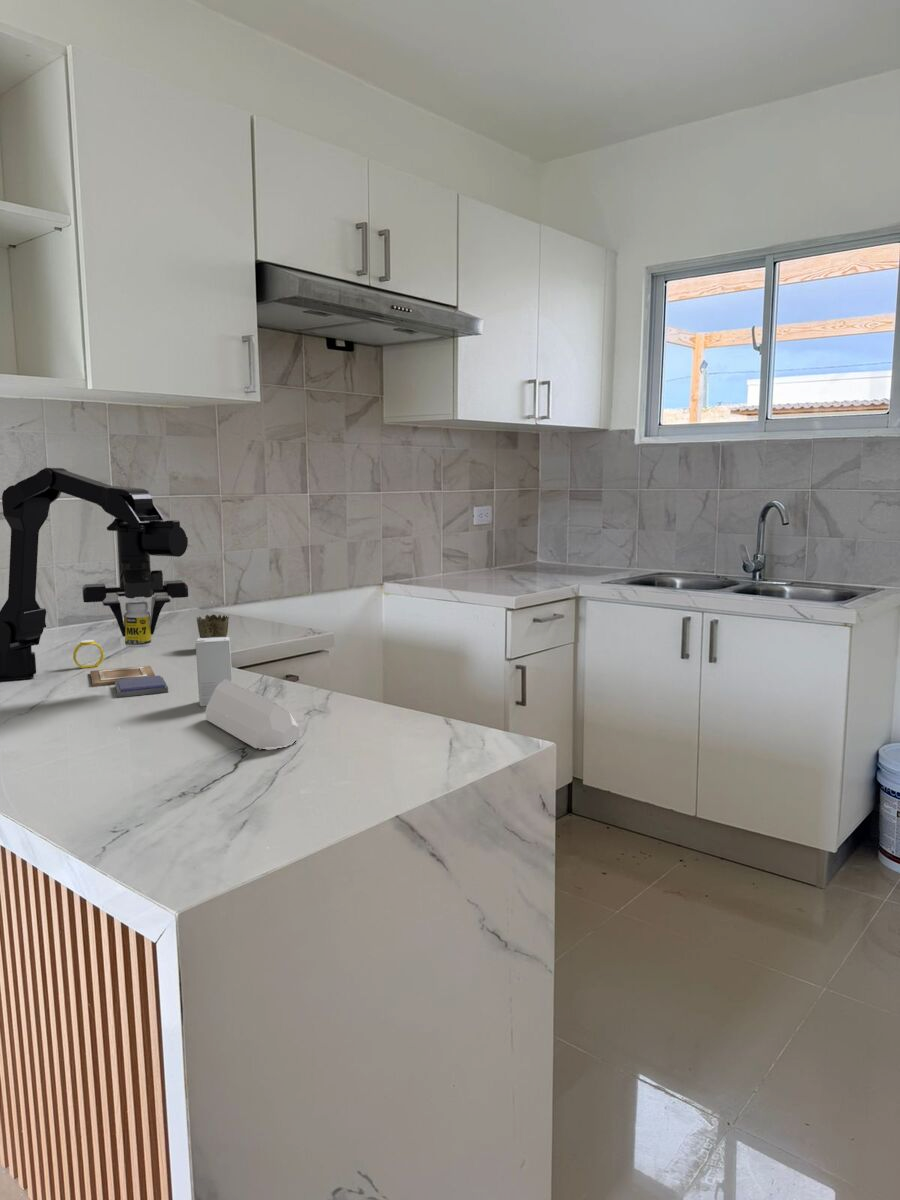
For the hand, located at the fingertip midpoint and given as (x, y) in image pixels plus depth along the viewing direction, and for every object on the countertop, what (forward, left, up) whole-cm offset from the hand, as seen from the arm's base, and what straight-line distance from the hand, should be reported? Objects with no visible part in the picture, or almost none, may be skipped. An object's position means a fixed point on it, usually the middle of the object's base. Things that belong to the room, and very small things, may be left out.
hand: (137, 635), depth 162 cm
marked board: (-2, +12, -11) cm, 17 cm away
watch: (-8, +25, -11) cm, 29 cm away
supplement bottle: (0, 0, -2) cm, 2 cm away
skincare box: (+12, -17, -11) cm, 23 cm away
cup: (+20, +33, -11) cm, 40 cm away
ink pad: (0, 0, -11) cm, 11 cm away
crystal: (+14, -37, -11) cm, 41 cm away
